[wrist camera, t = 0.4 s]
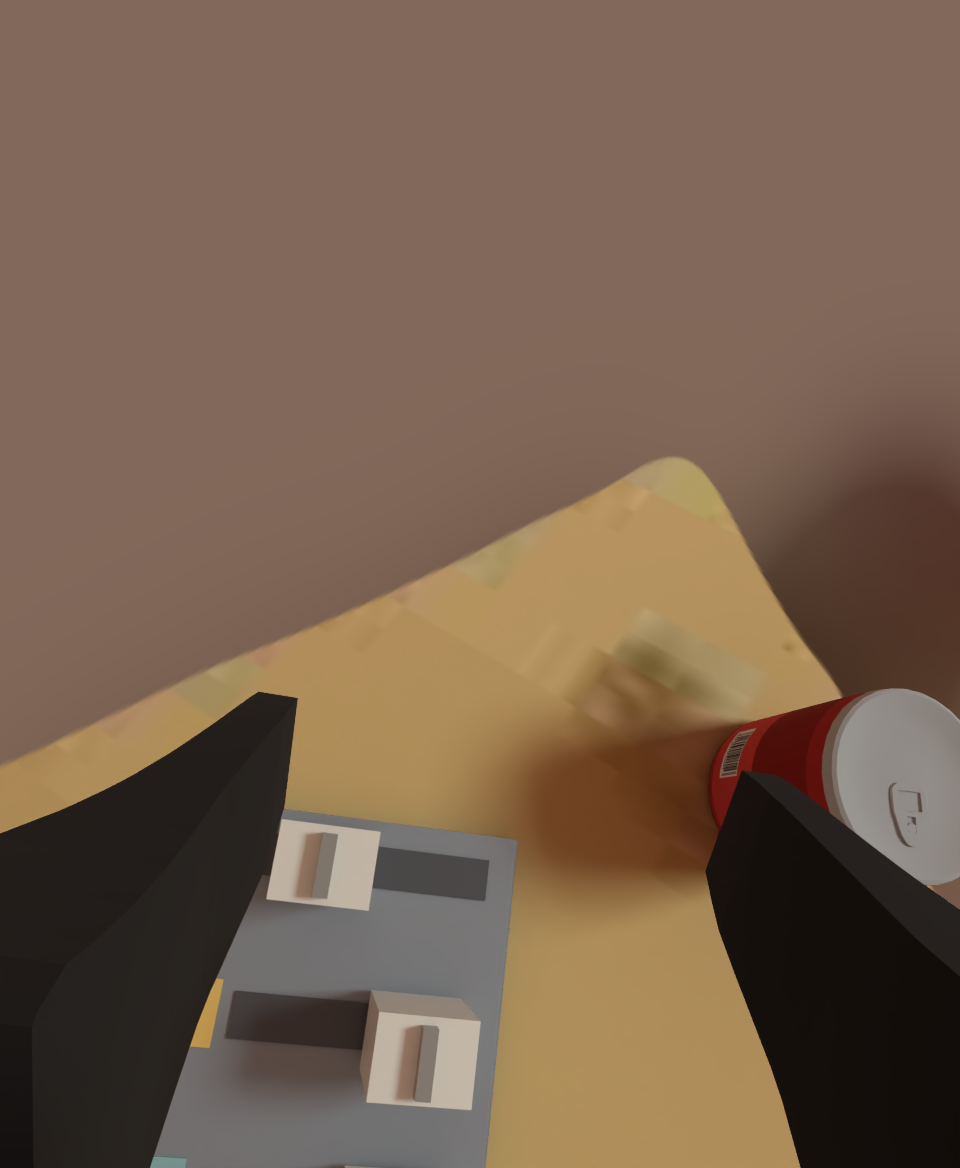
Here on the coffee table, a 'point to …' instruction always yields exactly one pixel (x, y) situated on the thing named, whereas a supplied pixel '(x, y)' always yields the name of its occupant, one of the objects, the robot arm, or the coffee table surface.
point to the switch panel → (346, 1013)
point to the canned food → (864, 772)
